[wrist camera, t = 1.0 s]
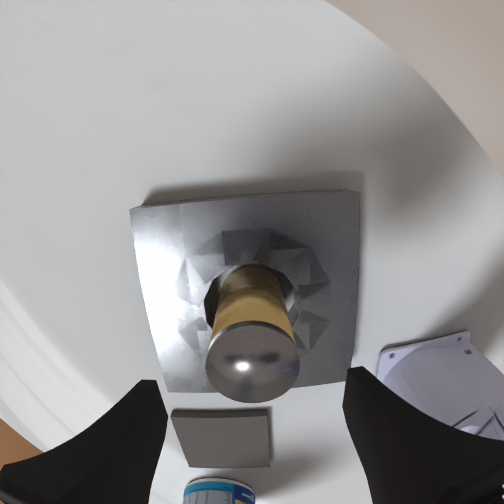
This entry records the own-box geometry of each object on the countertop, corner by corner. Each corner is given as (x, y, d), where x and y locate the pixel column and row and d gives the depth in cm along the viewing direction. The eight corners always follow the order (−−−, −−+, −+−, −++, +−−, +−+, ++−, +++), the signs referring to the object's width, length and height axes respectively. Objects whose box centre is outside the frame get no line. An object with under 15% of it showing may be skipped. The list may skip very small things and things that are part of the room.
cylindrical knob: (280, 264, 19) (300, 325, 12) (282, 320, 20) (299, 399, 13) (217, 268, 19) (198, 332, 12) (224, 324, 20) (212, 404, 13)
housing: (348, 189, 18) (359, 192, 16) (342, 364, 21) (348, 380, 20) (140, 205, 18) (129, 209, 16) (173, 375, 22) (168, 392, 20)
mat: (266, 409, 23) (267, 415, 22) (269, 460, 25) (270, 466, 24) (172, 410, 23) (170, 416, 22) (190, 461, 25) (189, 467, 24)
